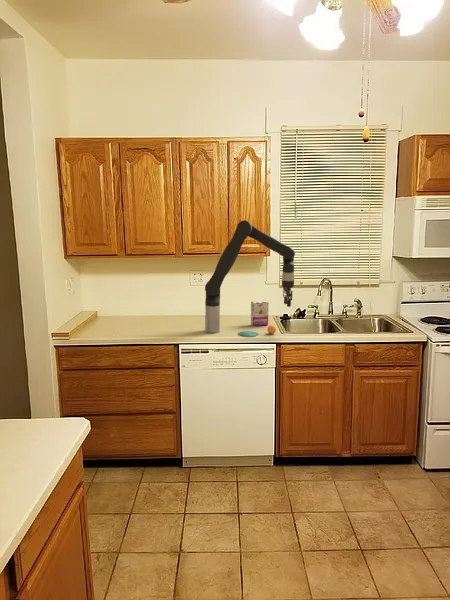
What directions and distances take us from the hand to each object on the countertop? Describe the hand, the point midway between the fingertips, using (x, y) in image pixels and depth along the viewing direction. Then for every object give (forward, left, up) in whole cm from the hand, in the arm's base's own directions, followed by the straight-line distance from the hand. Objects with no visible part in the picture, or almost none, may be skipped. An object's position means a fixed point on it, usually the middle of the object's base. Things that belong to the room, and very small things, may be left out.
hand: (287, 305), depth 282 cm
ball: (-10, 0, -15) cm, 18 cm away
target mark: (-25, 0, -18) cm, 31 cm away
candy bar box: (-14, +22, -18) cm, 32 cm away
